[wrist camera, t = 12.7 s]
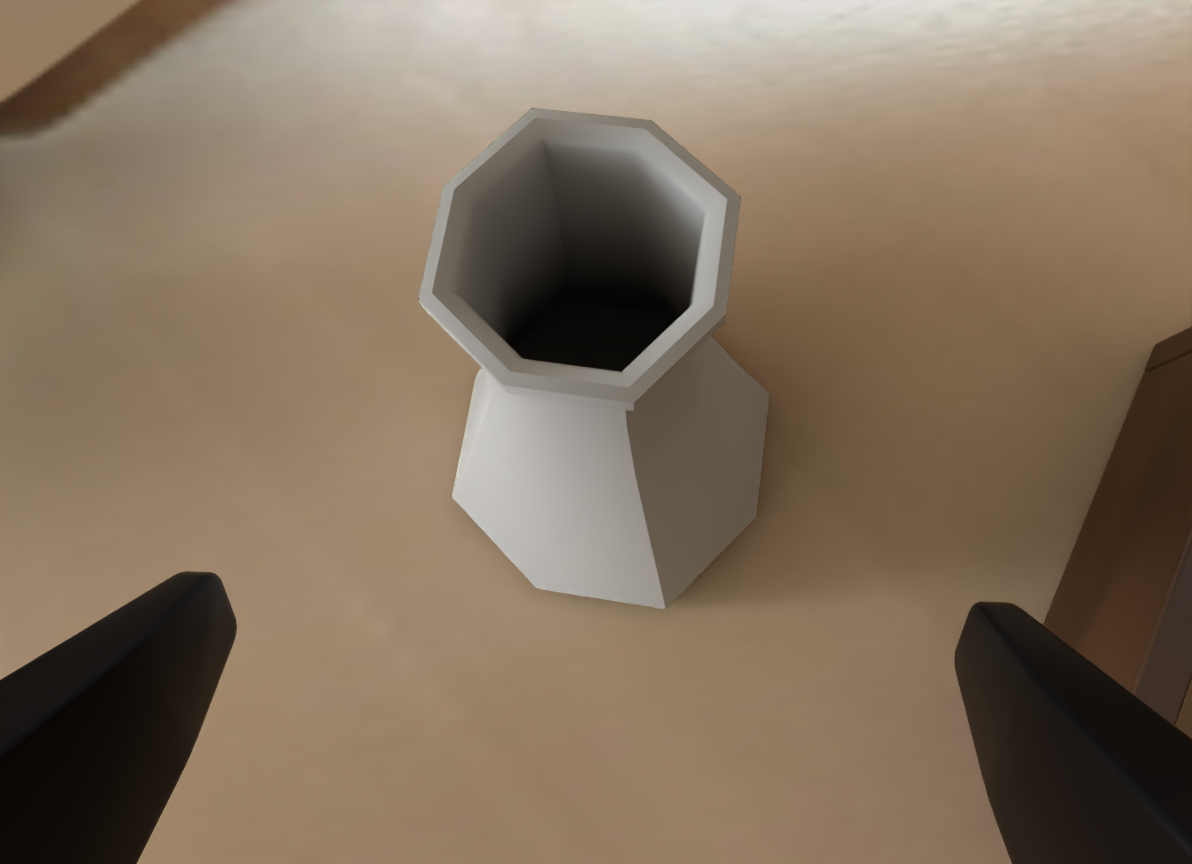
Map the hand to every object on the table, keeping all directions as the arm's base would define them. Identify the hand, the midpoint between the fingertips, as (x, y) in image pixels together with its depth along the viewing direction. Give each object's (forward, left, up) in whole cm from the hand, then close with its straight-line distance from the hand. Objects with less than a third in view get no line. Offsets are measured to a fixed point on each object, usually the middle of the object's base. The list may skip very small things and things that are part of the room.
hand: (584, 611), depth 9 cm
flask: (+3, -1, -8) cm, 9 cm away
